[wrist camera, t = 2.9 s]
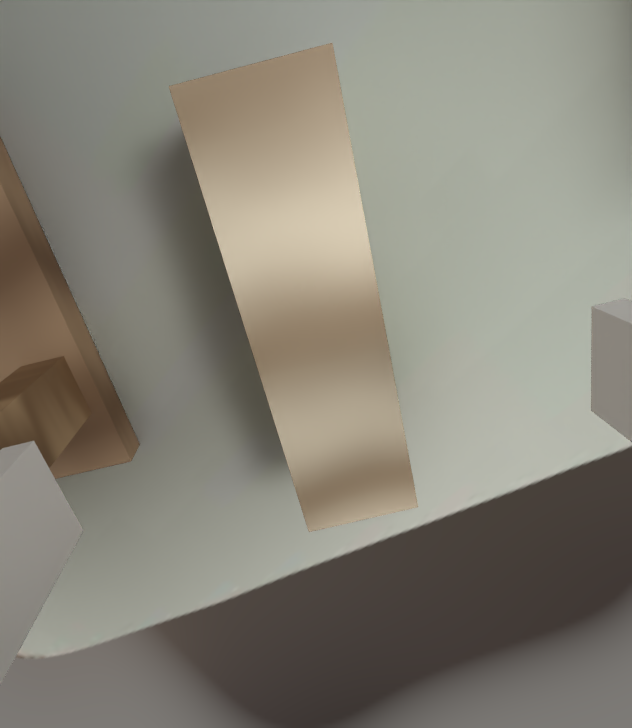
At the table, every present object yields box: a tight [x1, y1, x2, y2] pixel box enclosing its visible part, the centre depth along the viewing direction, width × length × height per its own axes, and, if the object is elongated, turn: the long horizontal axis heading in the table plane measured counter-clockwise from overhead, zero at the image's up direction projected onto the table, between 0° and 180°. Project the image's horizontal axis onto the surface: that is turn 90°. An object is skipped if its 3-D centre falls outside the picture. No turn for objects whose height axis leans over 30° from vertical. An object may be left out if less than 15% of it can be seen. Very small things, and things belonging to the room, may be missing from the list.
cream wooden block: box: [169, 43, 418, 532], centre depth 19 cm, size 16×4×7 cm, turn 13°
